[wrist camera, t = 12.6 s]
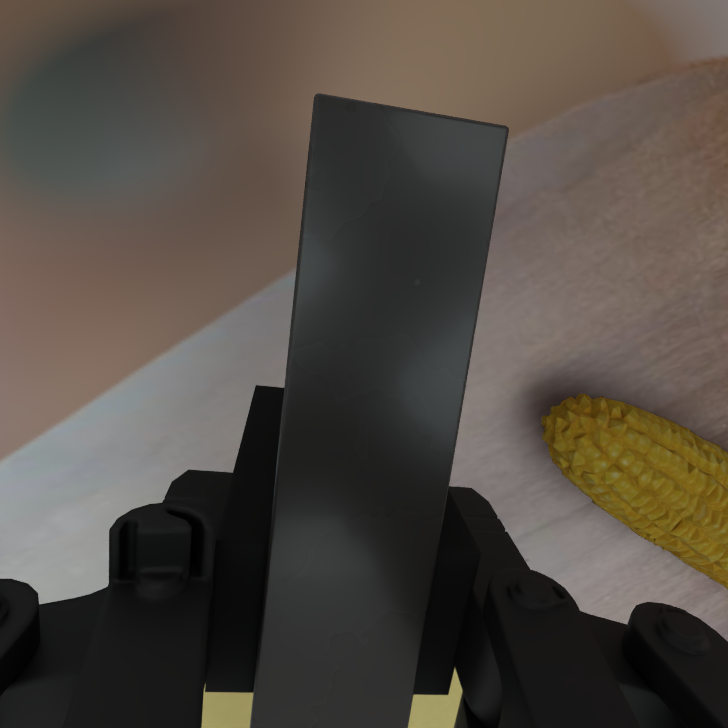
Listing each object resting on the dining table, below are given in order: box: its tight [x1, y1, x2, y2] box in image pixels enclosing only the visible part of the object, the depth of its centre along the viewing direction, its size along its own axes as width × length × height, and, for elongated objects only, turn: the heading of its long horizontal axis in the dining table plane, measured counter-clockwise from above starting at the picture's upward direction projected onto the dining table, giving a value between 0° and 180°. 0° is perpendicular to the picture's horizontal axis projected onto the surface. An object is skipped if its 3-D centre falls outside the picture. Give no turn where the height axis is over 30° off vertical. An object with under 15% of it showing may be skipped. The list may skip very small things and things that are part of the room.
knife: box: [250, 94, 509, 728], centre depth 12 cm, size 23×2×7 cm, turn 172°
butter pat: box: [201, 682, 253, 728], centre depth 22 cm, size 5×3×4 cm, turn 173°
